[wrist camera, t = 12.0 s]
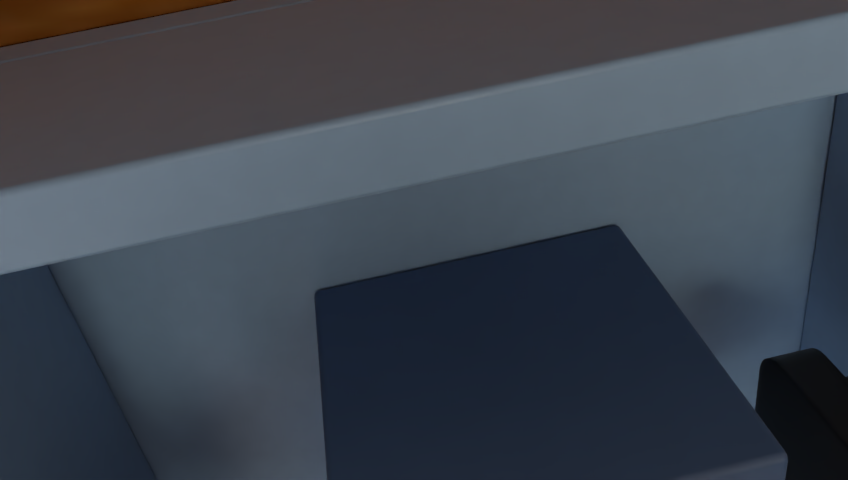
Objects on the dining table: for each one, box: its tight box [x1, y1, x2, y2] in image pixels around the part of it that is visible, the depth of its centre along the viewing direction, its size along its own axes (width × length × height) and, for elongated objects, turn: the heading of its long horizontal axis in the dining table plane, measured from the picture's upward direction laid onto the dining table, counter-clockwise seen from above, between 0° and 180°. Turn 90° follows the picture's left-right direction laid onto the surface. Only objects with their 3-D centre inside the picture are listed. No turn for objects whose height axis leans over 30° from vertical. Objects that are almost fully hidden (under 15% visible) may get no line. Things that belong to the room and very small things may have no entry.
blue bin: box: [0, 0, 848, 480], centre depth 12 cm, size 14×14×5 cm
